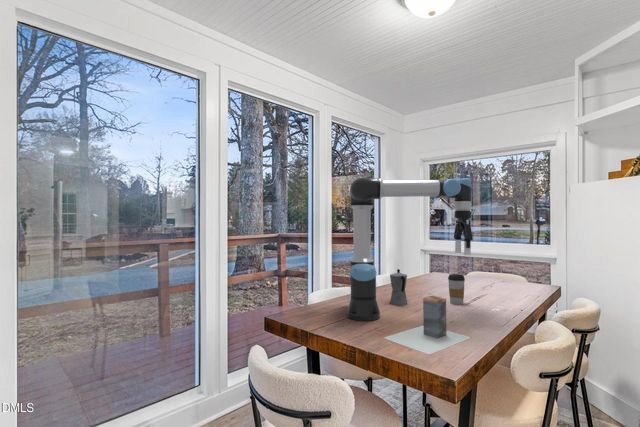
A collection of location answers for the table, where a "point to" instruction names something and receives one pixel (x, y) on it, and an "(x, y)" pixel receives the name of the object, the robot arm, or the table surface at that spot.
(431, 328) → the slate block
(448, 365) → the table surface
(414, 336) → the sage mat
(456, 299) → the coffee cup
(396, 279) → the coffeepot
